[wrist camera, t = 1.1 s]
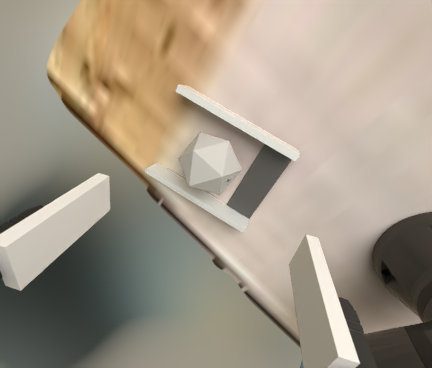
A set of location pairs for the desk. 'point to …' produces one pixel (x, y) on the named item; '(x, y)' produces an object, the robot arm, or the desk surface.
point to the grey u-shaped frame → (253, 181)
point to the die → (209, 163)
